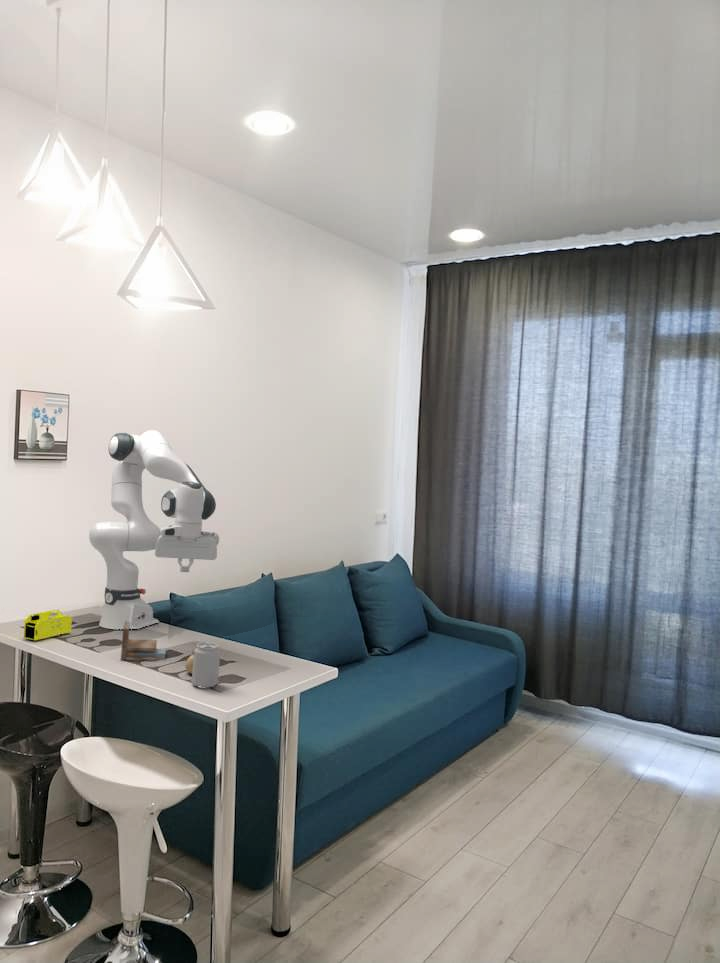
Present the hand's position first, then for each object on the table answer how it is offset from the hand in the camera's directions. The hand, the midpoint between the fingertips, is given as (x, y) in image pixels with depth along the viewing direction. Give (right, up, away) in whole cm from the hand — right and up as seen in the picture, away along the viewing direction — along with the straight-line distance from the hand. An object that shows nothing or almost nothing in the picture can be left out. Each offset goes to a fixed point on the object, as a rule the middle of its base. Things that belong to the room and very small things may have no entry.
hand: (184, 571), depth 250 cm
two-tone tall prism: (-11, -27, -7) cm, 30 cm away
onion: (+9, -29, -21) cm, 37 cm away
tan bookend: (-13, -26, -7) cm, 30 cm away
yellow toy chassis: (-49, -23, +6) cm, 54 cm away
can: (+13, -30, -32) cm, 45 cm away
